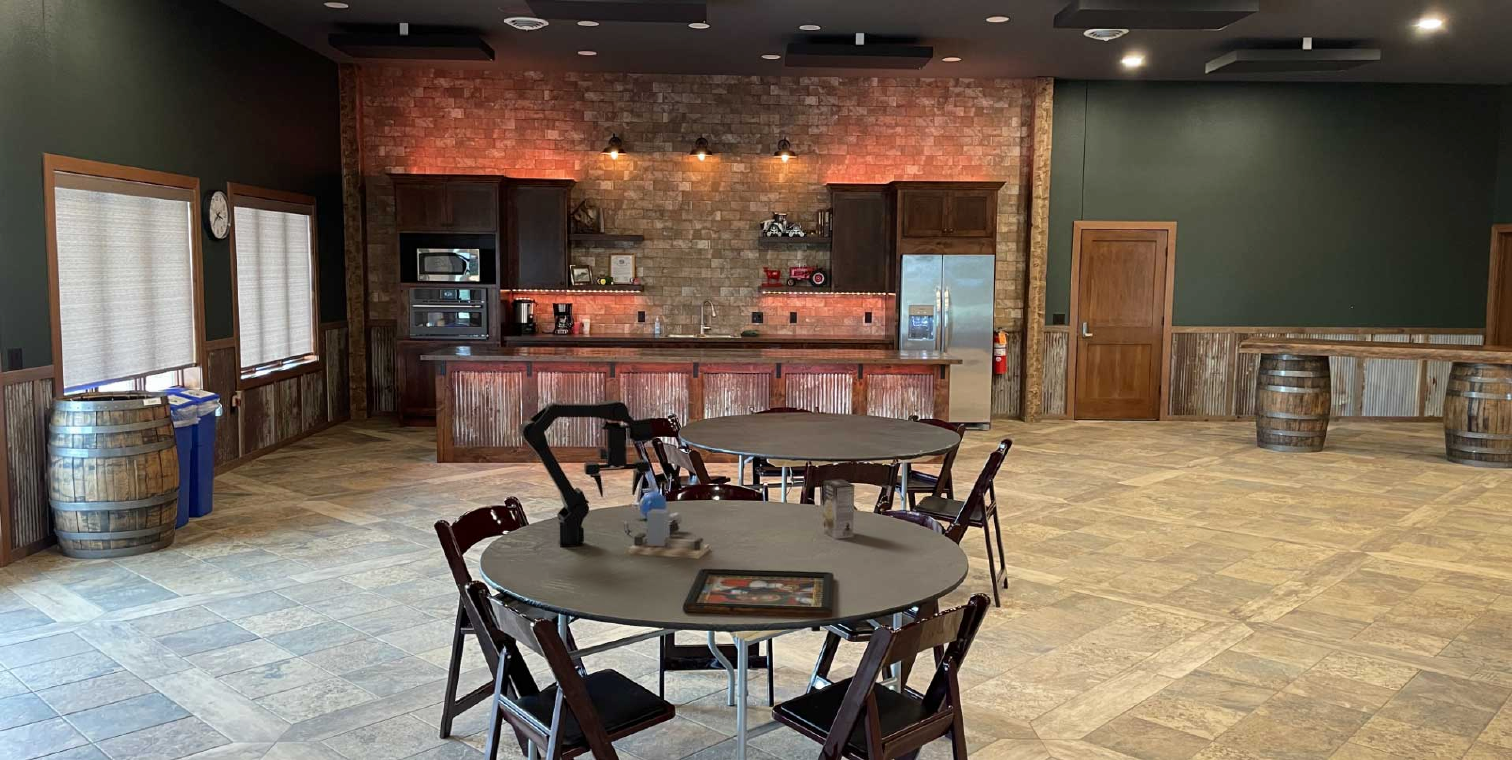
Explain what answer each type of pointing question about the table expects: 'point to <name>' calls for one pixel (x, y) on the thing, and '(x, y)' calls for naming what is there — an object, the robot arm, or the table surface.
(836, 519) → the coffee box
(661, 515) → the pale blue rectangular block
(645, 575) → the table surface
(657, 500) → the blue mole toy
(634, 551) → the rail
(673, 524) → the clip-on lamp
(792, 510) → the table surface
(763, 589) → the framed painting
